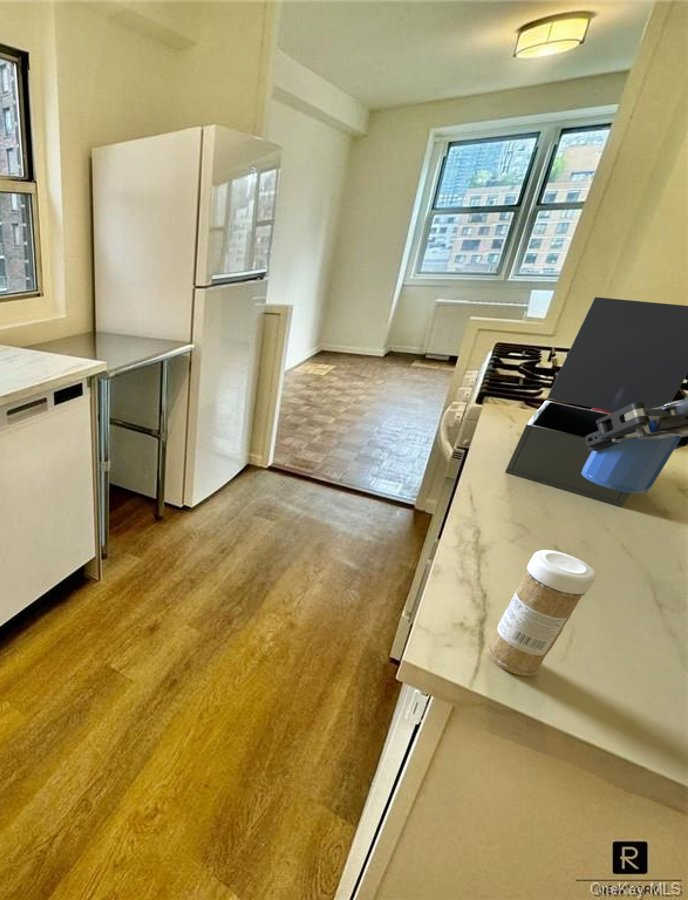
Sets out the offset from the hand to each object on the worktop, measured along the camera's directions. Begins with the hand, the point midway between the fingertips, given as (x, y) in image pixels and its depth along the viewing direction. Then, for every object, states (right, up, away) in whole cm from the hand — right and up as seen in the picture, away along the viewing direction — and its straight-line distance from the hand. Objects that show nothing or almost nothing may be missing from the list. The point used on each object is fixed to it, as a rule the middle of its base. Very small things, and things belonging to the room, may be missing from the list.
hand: (619, 445), depth 63 cm
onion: (+43, +3, +43) cm, 61 cm away
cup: (0, -5, +1) cm, 5 cm away
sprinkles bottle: (-24, -24, -10) cm, 35 cm away
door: (+29, +16, +25) cm, 41 cm away
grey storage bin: (+21, -5, +28) cm, 35 cm away
